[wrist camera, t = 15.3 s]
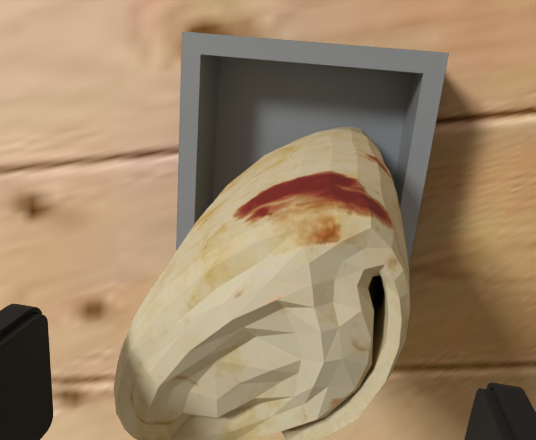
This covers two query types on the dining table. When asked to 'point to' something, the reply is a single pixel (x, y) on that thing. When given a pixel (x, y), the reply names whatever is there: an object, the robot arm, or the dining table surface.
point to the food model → (275, 302)
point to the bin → (300, 110)
